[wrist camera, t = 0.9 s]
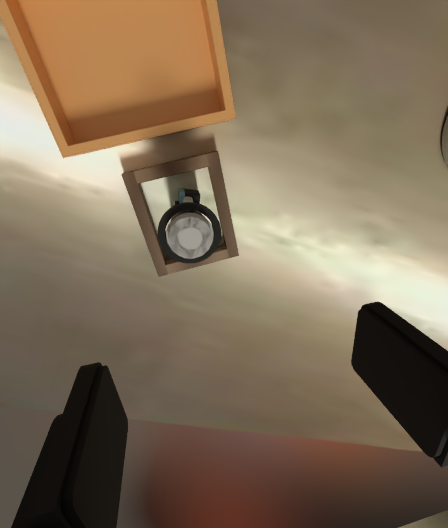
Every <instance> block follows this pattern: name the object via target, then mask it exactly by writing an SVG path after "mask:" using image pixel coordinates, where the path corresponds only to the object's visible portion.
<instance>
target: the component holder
mask: <svg viewBox="0 0 448 528" xmlns="http://www.w3.org/2000/svg"><path fill="white" fill-rule="evenodd" d="M205 167H208V170H209V174H210V179H211V183H212V188H213V192H214V197H215V201H216V206H217V210H218V215H219V219H220V224H221V228H222V233H223V237H224V242H225V245H222V246H218V247H217V249H216V251H215V252H214V253H213V254H212V255H211V256H210V257H208V258H207V259H205V260H203V261H201V262H198V263H181V262H178V261H175V260H174V259H168V260H166V259H165V256H164V253H163V250H162V248H161V246H160V244H159V240H158V236H157V233H156V230H155V227H154V224H153V221H152V218H151V215H150V212H149V209H148V206H147V203H146V200H145V197H144V194H143V191H142V188H141V185H140V183H142V182H147V181H151V180H155V179H159V178H163V177H167V176H172V175H176V174H180V173H184V172H188V171H192V170H197V169H201V168H205ZM122 177H123V180H124V183H125V186H126V188H127V191H128V194H129V197H130V199H131V202H132V205H133V208H134V210H135V213H136V216H137V219H138V221H139V224H140V227H141V230H142V232H143V235H144V238H145V241H146V243H147V246H148V249H149V252H150V254H151V257H152V260H153V263H154V265H155V268H156V271H157V274H158V276H163V275H167V274H171V273H175V272H178V271H182V270H186V269H190V268H194V267H197V266H201V265H205V264H209V263H213V262H216V261H220V260H224V259H228V258H232V257H235V256H239V254H238V249H237V244H236V239H235V234H234V229H233V224H232V219H231V214H230V209H229V204H228V199H227V194H226V189H225V184H224V179H223V174H222V169H221V164H220V159H219V154H218V151H213V152H209V153H205V154H201V155H197V156H192V157H188V158H184V159H180V160H175V161H171V162H167V163H163V164H159V165H154V166H150V167H146V168H142V169H137V170H133V171H129V172H125V173H123V174H122Z"/></svg>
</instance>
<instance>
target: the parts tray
mask: <svg viewBox="0 0 448 528" xmlns="http://www.w3.org/2000/svg"><path fill="white" fill-rule="evenodd" d="M0 17H1V20H2V22H3V24H4V26H5V29H6V31H7V33H8V35H9V38H10V40H11V42H12V44H13V47H14V49H15V51H16V53H17V56H18V58H19V60H20V62H21V65H22V67H23V69H24V71H25V74H26V76H27V78H28V80H29V83H30V85H31V87H32V89H33V92H34V94H35V96H36V98H37V100H38V103H39V105H40V107H41V109H42V112H43V114H44V116H45V118H46V121H47V123H48V125H49V127H50V130H51V132H52V134H53V136H54V139H55V141H56V143H57V145H58V148H59V150H60V152H61V154H62V157H63V158H65V157H71V156H76V155H80V154H85V153H89V152H93V151H98V150H102V149H106V148H111V147H115V146H119V145H124V144H128V143H132V142H137V141H141V140H145V139H150V138H154V137H158V136H163V135H167V134H171V133H176V132H180V131H184V130H189V129H193V128H197V127H202V126H206V125H210V124H215V123H219V122H224V121H228V120H231V119H234V118H236V116H235V110H234V104H233V98H232V92H231V86H230V80H229V74H228V68H227V62H226V56H225V50H224V44H223V37H222V31H221V25H220V19H219V13H218V7H217V1H216V0H0Z"/></svg>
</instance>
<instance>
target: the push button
mask: <svg viewBox="0 0 448 528" xmlns="http://www.w3.org/2000/svg"><path fill="white" fill-rule="evenodd" d="M199 202H200V193H199V191H198V190H188V189H179V201H175V206H173V207H171V208H170V209H169V210H168V211H166V212H165V214H164V215H163V216H162V218H161V220H160V222H159V226H158V240H159V244H160V246H161V248H162V249H163V251H164V252H165V253H166V254H167V255H168V256H169V257H170V258H172V259H174V260H175V261H178V262H181V263H198V262H201V261H203V260H205V259H207V258H208V257H210V256H211V255H212V254H213V253H214V252H215V251H216V249H217V247H218V246H219V243H220V240H221V227H220V223H219V221H218V219H217V217H216V216H215V214H214V213H213V212H212V211H211V210H210V209H209V208H207V207H206V206H204V205H201V204H199ZM201 213H202V214H204V215H205V216H207V217H208V218H209V220H210V221H211V223H212V226H211V224H210V223H209V221H208V220H207V219H206V218H205V217H204V216H203V215H202V214H201ZM171 218H172V219H171ZM170 219H171V222H170V224H169V225H168V228H167V232H166V231H165V228H166V225H167V223H168V222H169V220H170Z"/></svg>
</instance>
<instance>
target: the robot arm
mask: <svg viewBox="0 0 448 528" xmlns="http://www.w3.org/2000/svg"><path fill="white" fill-rule="evenodd" d="M442 151H443V157H444V159H445V162H446V164H447V166H448V116H447V119H446V122H445V125H444V129H443V135H442ZM351 363H352V366H353V369H354V370H355V372H356V373H357V374H358V375H359V376H360V377H361V379H362V380H363V381H364V382H365V383H366V385H367V386H368V387H369V388H370V389H371V390H372V392H373V393H374V394H375V395H376V396H377V397H378V399H379V400H380V401H381V402H382V403H383V405H384V406H385V407H386V408H387V409H388V410H389V412H390V413H391V414H392V415H393V416H394V418H395V419H396V420H397V421H398V422H399V423H400V425H401V426H402V427H403V428H404V429H405V430H406V432H407V433H408V434H409V435H410V436H411V438H412V439H413V440H414V441H415V442H416V443H417V445H418V446H419V447H420V448H421V449H422V450H423V452H424V453H425V454H426V455H428V456H429V457H433V458H434V459H435V461H436V462H437V463H438V464H439V465H440V466H441V467H444V466H447V465H448V351H447V350H446V349H444V348H443V347H441V346H440V345H439V344H437V343H436V342H435V341H433V340H432V339H430V338H429V337H428V336H426V335H425V334H424V333H422V332H421V331H419V330H418V329H417V328H415V327H414V326H413V325H411V324H410V323H408V322H407V321H406V320H404V319H403V318H402V317H400V316H399V315H397V314H396V313H395V312H393V311H392V310H391V309H389V308H388V307H386V306H385V305H384V304H382V303H380V302H374V303H369V304H365V305H363V306H362V307H361V309H360V310H359V312H358V317H357V324H356V332H355V339H354V346H353V353H352V360H351ZM127 432H128V420H127V416H126V414H125V411H124V408H123V406H122V403H121V400H120V398H119V395H118V392H117V390H116V387H115V384H114V382H113V379H112V377H111V374H110V371H109V369H108V366H102V364H101V363H94V364H89V365H85V366H81V367H80V369H79V371H78V373H77V376H76V379H75V382H74V384H73V387H72V390H71V393H70V395H69V398H68V401H67V404H66V406H65V409H64V412H63V414H60V415H58V416H57V417H56V418H55V419H54V420H53V422H52V425H51V427H50V430H49V432H48V435H47V437H46V440H45V442H44V445H43V447H42V450H41V453H40V455H39V458H38V460H37V463H36V465H35V468H34V471H33V473H32V476H31V478H30V481H29V483H28V486H27V489H26V491H25V494H24V496H23V499H22V501H21V504H20V506H19V509H18V511H17V514H16V517H15V519H14V522H13V525H12V527H11V528H116V526H117V517H118V509H119V501H120V492H121V484H122V475H123V466H124V458H125V449H126V441H127ZM400 528H448V510H447V511H444V512H442V513H439V514H436V515H433V516H431V517H428V518H425V519H422V520H419V521H416V522H414V523H411V524H408V525H405V526H403V527H400Z"/></svg>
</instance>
